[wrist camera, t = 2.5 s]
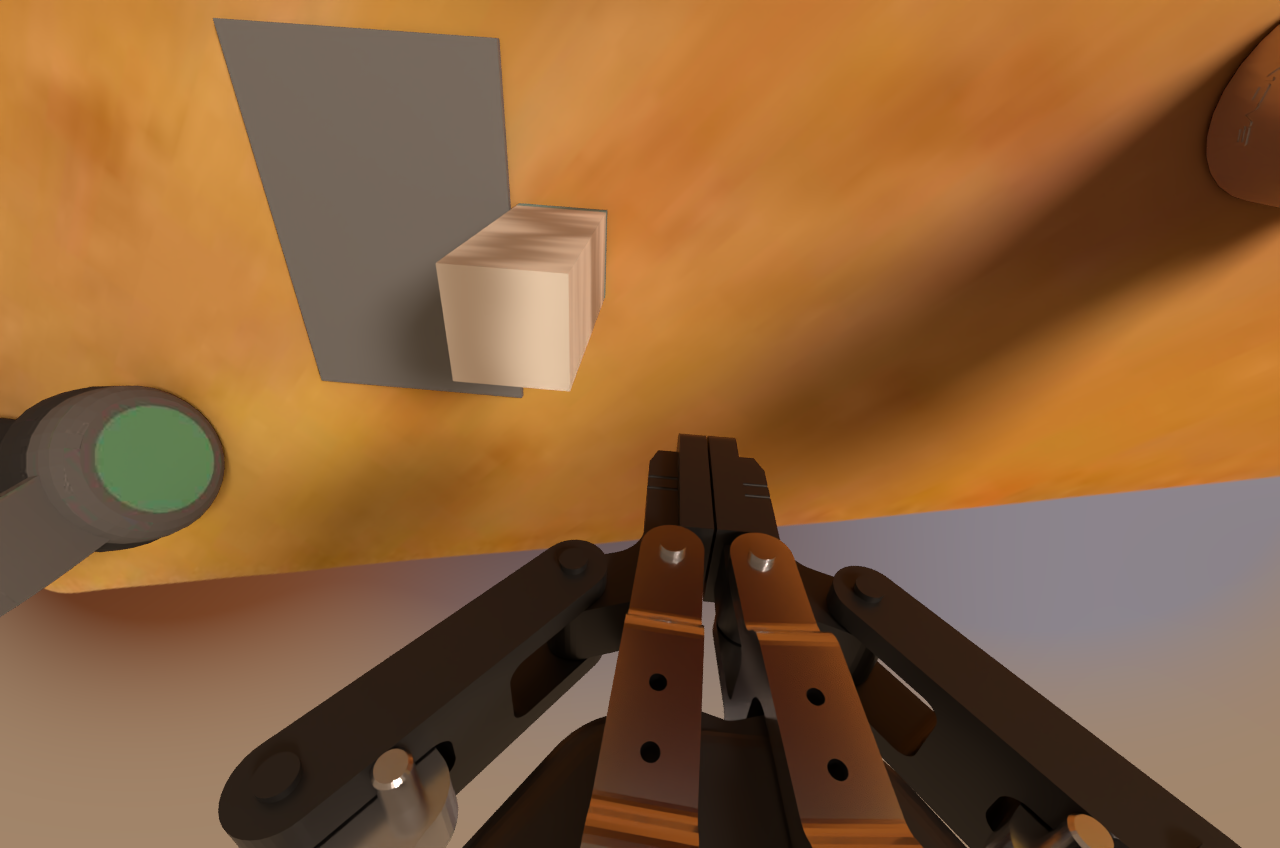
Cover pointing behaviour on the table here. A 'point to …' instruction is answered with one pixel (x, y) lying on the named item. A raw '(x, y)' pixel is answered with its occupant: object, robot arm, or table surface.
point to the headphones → (98, 479)
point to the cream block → (525, 296)
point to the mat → (373, 182)
